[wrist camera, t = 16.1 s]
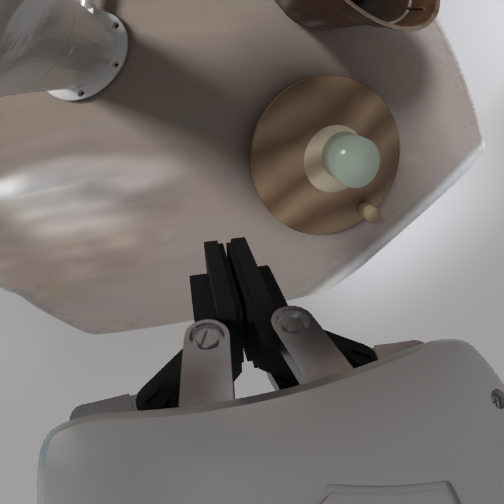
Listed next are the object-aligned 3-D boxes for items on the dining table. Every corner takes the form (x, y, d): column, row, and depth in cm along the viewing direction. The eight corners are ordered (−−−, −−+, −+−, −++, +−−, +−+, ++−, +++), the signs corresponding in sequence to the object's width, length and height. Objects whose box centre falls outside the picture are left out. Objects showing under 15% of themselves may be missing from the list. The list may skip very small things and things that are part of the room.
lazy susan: (211, 145, 33) (215, 153, 29) (349, 47, 29) (368, 45, 25) (308, 256, 46) (319, 272, 43) (410, 171, 42) (427, 181, 38)
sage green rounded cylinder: (313, 148, 35) (327, 155, 31) (352, 122, 34) (369, 127, 30) (334, 187, 39) (348, 197, 35) (369, 162, 38) (385, 170, 34)
